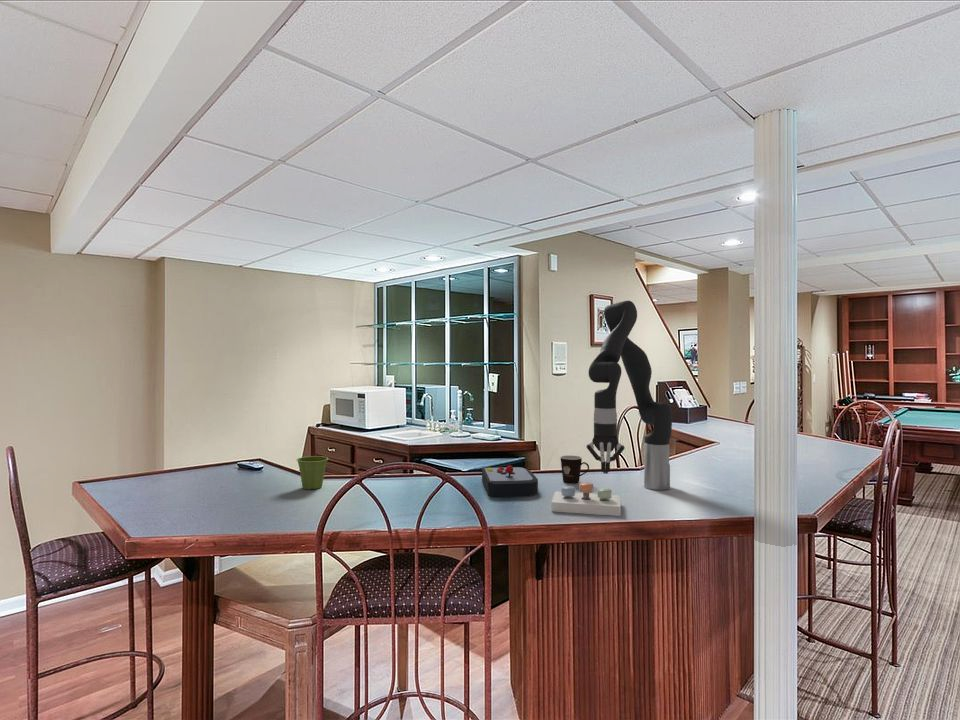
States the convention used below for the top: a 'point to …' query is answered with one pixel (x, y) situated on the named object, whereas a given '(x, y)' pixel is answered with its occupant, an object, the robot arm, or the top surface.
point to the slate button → (568, 491)
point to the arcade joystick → (509, 482)
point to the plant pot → (312, 471)
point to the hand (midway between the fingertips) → (605, 473)
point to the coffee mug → (571, 468)
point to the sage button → (604, 494)
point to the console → (586, 504)
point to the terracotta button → (586, 489)
